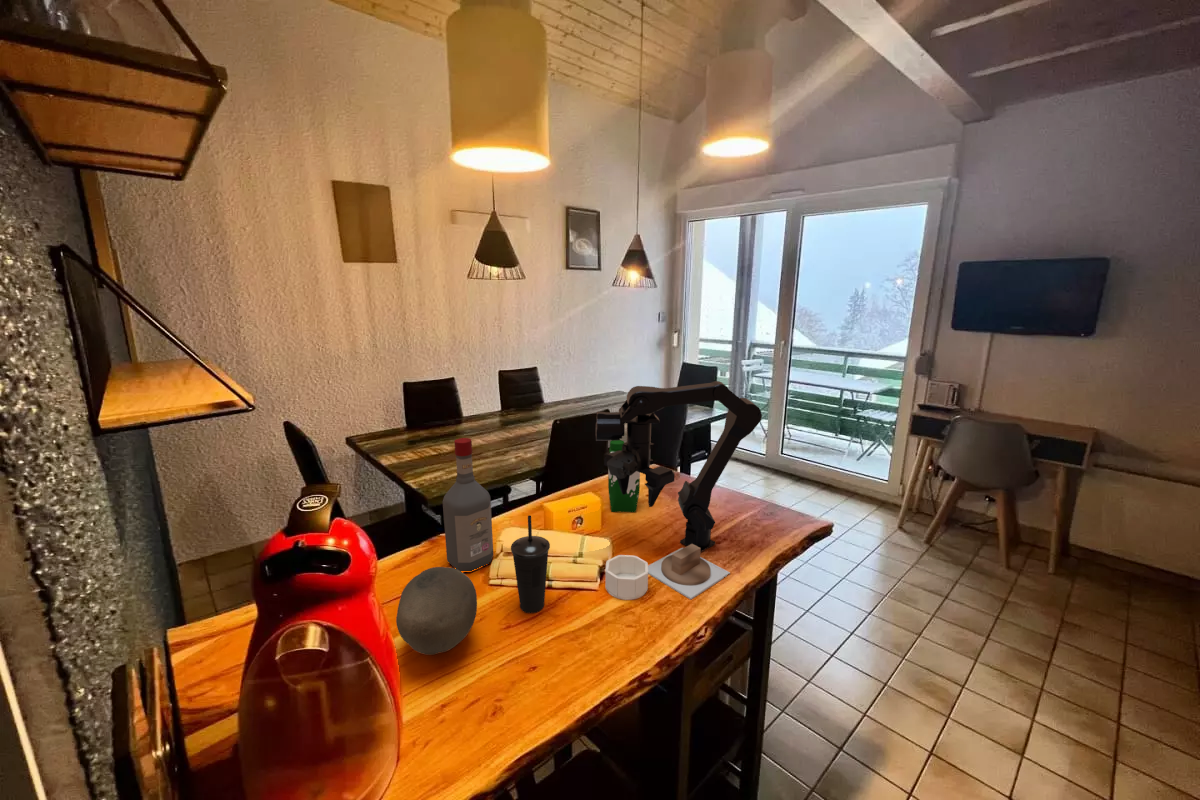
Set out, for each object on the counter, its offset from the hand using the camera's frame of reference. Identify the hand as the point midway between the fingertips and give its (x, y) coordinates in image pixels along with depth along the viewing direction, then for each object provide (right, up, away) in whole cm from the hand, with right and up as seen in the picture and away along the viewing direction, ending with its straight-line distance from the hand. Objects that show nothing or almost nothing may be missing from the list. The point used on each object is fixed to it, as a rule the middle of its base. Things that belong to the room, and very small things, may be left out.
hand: (637, 500), depth 121 cm
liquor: (-40, -14, -5) cm, 42 cm away
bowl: (-3, -16, -14) cm, 22 cm away
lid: (+10, -14, -9) cm, 20 cm away
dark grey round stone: (-38, -20, -32) cm, 53 cm away
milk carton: (-2, -7, +23) cm, 24 cm away
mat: (+10, -15, -9) cm, 20 cm away
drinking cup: (-23, -18, -20) cm, 35 cm away
